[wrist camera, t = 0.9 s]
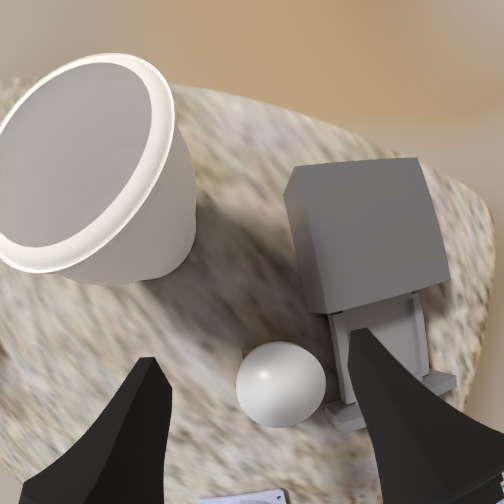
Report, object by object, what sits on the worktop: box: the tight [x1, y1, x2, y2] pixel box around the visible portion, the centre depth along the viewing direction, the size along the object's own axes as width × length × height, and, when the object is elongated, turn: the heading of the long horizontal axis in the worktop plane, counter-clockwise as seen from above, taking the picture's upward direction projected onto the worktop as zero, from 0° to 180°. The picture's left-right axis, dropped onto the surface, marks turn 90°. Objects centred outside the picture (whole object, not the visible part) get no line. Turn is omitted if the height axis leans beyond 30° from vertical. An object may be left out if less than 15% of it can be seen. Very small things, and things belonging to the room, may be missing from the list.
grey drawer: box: [324, 291, 457, 435], centre depth 21 cm, size 11×11×5 cm
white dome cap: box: [236, 341, 326, 428], centre depth 18 cm, size 6×6×2 cm
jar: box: [0, 53, 197, 286], centre depth 17 cm, size 11×10×15 cm
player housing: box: [283, 158, 451, 314], centre depth 22 cm, size 10×11×6 cm
